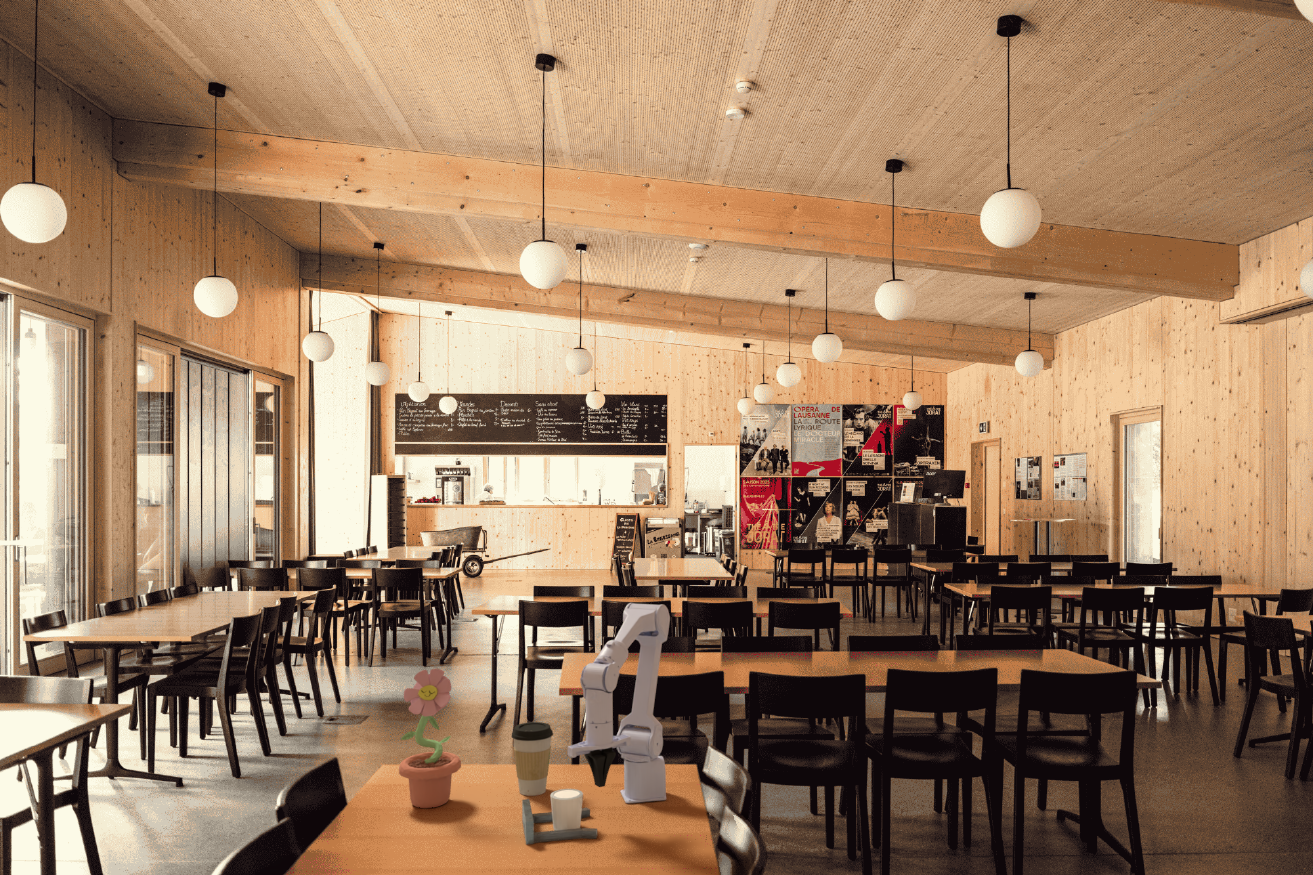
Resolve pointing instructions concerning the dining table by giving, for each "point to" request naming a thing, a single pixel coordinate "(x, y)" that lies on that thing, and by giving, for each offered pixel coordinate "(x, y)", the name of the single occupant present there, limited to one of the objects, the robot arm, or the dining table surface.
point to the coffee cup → (532, 756)
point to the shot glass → (566, 808)
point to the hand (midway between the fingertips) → (600, 785)
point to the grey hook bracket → (554, 835)
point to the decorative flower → (429, 743)
